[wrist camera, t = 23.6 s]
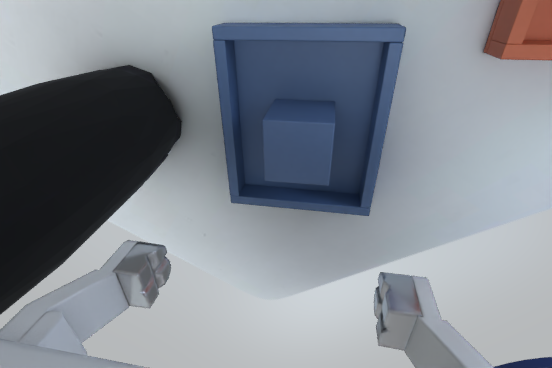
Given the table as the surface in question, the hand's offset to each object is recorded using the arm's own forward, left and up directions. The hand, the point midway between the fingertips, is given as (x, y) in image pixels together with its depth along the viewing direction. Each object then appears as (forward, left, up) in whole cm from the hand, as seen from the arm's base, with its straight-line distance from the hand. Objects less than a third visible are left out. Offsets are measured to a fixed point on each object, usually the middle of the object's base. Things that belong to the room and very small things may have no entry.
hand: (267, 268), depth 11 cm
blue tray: (0, 0, -15) cm, 15 cm away
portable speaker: (0, +14, -15) cm, 21 cm away
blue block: (0, 0, -14) cm, 14 cm away
